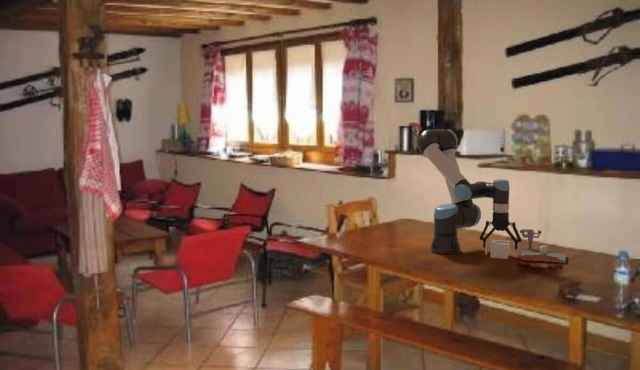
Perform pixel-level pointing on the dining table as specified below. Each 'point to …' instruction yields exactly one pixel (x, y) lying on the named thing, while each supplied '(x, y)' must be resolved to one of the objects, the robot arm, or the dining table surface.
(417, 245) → the dining table surface
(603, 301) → the dining table surface
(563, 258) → the board
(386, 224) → the dining table surface
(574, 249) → the dining table surface
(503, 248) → the cream slotted box
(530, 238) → the mechanical component
